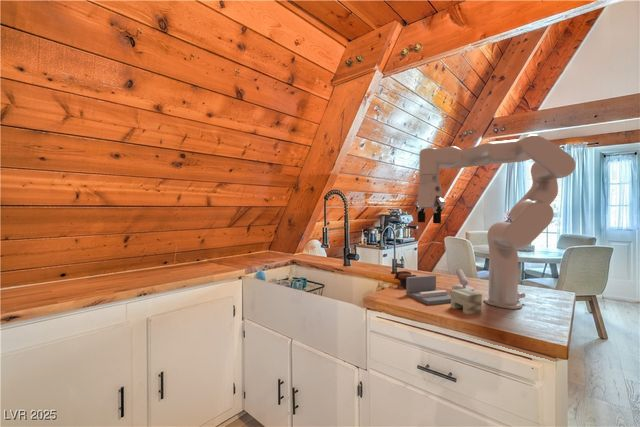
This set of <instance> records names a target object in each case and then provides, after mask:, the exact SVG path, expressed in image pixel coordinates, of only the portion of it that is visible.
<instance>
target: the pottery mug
mask: <svg viewBox="0 0 640 427" xmlns="http://www.w3.org/2000/svg"><path fill="white" fill-rule="evenodd" d="M415 276H417V275H415V274H412V273H411V272H410V271H406V270H400V271H396V272H395V275H394V277H393V280H398V281H400V282H397V283H396V286H397V288H398V289H401V288H403V289H406V277H415Z"/></svg>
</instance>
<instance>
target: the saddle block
mask: <svg viewBox="0 0 640 427" xmlns="http://www.w3.org/2000/svg"><path fill="white" fill-rule="evenodd" d="M450 295H451V303H450V308H451V309H462V313H463V314H466V315H472V314H480V313H482V311H483V310H482V307H483V305H482V303H483V299H482V296H483V294H482V293H479V292H477V291H475V290H474V291H471V290H468V289H455V290H452V289H450Z"/></svg>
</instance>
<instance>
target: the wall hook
mask: <svg viewBox="0 0 640 427" xmlns="http://www.w3.org/2000/svg"><path fill="white" fill-rule="evenodd" d="M455 275H456V276H457V279H458V281H459V283H460V284H453V285H452V286H451V290H455V289H468V290H471V291H474V292H475V288H474V287H473V286H470V285H469V280H468V278H467V276H466V274H465V272H464V271H463V269H462V268H458V269H456V270H455Z"/></svg>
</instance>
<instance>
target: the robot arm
mask: <svg viewBox="0 0 640 427" xmlns="http://www.w3.org/2000/svg"><path fill="white" fill-rule="evenodd" d="M530 160H531V161H533V164H532V165H531V167H530V175H531V179H532V180H531V181H532V186H530V189H529V190H528V191H527V192H526V193H525V194H524V195H523V196H522V197H521V198H520V200H518V201H517V202H516V203H515V204H514V205H513V207H511V209H510V211H509V219H510V220H511V222H507V221H499V222H495V223H494V224H492V225H490V227H489V229H488V231H487V235H486V236H487V244H488V295H487V296H485V297H483V302H485V304H487V305H490V306H493V307H497V308H501V309H514V310H517V309H521V308H523V303H522V302H521V301H520V300H521V299H523V298H524V299H525V297H526V294H525V292H518V291H519V290H518V289H519V288H518V286H519V284H518V282H519V253H518V251H520V250H522V249H524V248H527V247H528V246H529V245H530V244H532V243H533V242H534V241H535V240H536V239H537V238H538V237H539V236H540V235H541V234H542V232H544V230H546V229H547V228H548V227H549V225H550V224H551V223H552V221H553V218H554V214H555V213H554V209H553V207H552V206H551V204H552V203H553V202H554V201H555V199H556V198H557V196H558V193H559V183H558V179H563V178H566V177H568V176H570V175H571V174H572V173H574V171H575V169H576V161H575V159H574V157H573V156H571V154H569V152H567V151H565V150H564V149H562V148H560V147H559V146H557V145H556V144H555V143H553V142H552V141H551V140H548V139H547V138H545V137H543V136H541V135H538V134H529V135H526V136H524V137H522V138H519V139H510V140H502V141H501V140H500V141H490V142H485V143H481V144H478V145H476V146H473V147H470V148H464V149H461V148H459V147H457V146H453V145H452V146H447V147H440V148H439V147H438V148H435V147H428V148H423V149H421V150H420V152H419V161H418V162H419V169H418V170H419V172H418V174H419V177H418V184H419V185H418V191H417V200H416V201H415V202H414V205H415V209H416V212H417V222H418V223H425V222H426V212H425V211H426V209H432V211H433V213H432V223H433V224H441V223H442V213H443V210H444V209H445V208H444V207H445V205H446V201H445V200H444V199H443V189H442V185H441V184H442V183H441V182H440V169H443V170H451V169H452V170H453V169H461V168H463V169H464V168H471V167H480V166H481V167H482V166H483V167H484V166H488V165H489V166H490V165H497V164H498V165H499V164H500V165H501V164H509V163H510V164H512V163H521V162H527V161H530Z"/></svg>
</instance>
